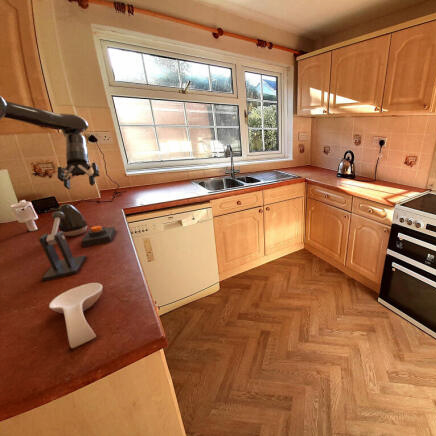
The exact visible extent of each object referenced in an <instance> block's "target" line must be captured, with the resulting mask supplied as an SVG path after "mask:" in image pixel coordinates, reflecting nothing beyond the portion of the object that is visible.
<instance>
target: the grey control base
mask: <svg viewBox="0 0 436 436" xmlns="http://www.w3.org/2000/svg"><path fill="white" fill-rule="evenodd" d="M101 228H102V230H100V231H97V232H92V230H91V229H90V230H88V231H86V234H85V235H84V237H83V238H82V239H81V241H80V242H81V245H82V248H86V247H90V246H95V245H100V244H107V243H110V242H112V241H113V238H114V236H115V234H116V229H115V226H109V227H106V226H101Z"/></svg>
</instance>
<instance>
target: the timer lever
mask: <svg viewBox="0 0 436 436" xmlns="http://www.w3.org/2000/svg"><path fill="white" fill-rule="evenodd" d="M51 218H52V219H53V220H54V222H53V225H52V230H51V234H48V235H47V239H46V241H47V242H48V244H49V245H53V246H54V245H58V244H57V242H56V240H55V237H54V236H55V235H56V234H57V233H58V232H59V231H58V230H59V227H58V226H59V222H60V220H62V219H63V218H64V213H63V212H60V211H53V212H52V213H51Z"/></svg>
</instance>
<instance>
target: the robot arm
mask: <svg viewBox="0 0 436 436" xmlns="http://www.w3.org/2000/svg"><path fill="white" fill-rule="evenodd" d="M3 118H5V119H10V120H14V121H19V122H21V123H26V124H28V125H29V124H30V125H33V126H38V127H41V128H46V129H51V130H56V131H61V133H62V134H63V137H64V139H65V159H66V167H61V166H58V167H57V177H56V178H57V180H59V181H61V182H63V186H64V188H66V189H67V190H70V189H71V180H72V179H74V178H75V177H79V176H85V175H87V176H88V181H89V185H90V186H95V184H96V179H95V178H97V177H100V169H99V166H98V164H97V163H95V162H92V163H90V161H89V159H90V158H89V151H88V148H87V140H86V137H85V136H84V135H83V133H84V132H85V131H88V129H89V123H88V121H87V120H86V119H85V118H84V117H82V116H79V115H78V114H77V115H76V114H72V113H57V112H53V111H50V110H46V109H42V108H38V107H34V106H29V105H25V104H21V103H17V102H16V103H15V102H12V101H9V100H5V98H3V97H2V95H0V121H1V120H2V119H3ZM91 169H92V170H93V171H92V172H91V171H90V170H91Z"/></svg>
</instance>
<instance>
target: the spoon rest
mask: <svg viewBox="0 0 436 436" xmlns="http://www.w3.org/2000/svg"><path fill="white" fill-rule="evenodd" d="M102 292H103V285H102V284H101V283H99V282H91V283H85V284H82V285H79V286H76V287H73V288H71V289H68V290H66V291H64V292H63V293H60V294H59V295H57V296H56V297H54V298H53V299H52V300H51V301H50V303H49V304H48V308H49V310H52V311H54V312H56V313H59V314H63V316H64V320H65V326H66V332H67V333H66V334H67V339H68V340H67V341H68V343H69V347H70V348H71V349H75V348H77V347H79V346H81V345H83V344H86V343H88V342H90V341H92V340H93V339H95V338H97V334H96V333H95V332H94V330H93V329H92V327H91V326H90V325H89V323H88V321H87V319H86V318H85V315H84V312H85V311H87V310H88V309H90V308H91V307H92V306H94V304H96V302H97V301H98V300H99V299H100V297H101V295H102Z"/></svg>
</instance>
